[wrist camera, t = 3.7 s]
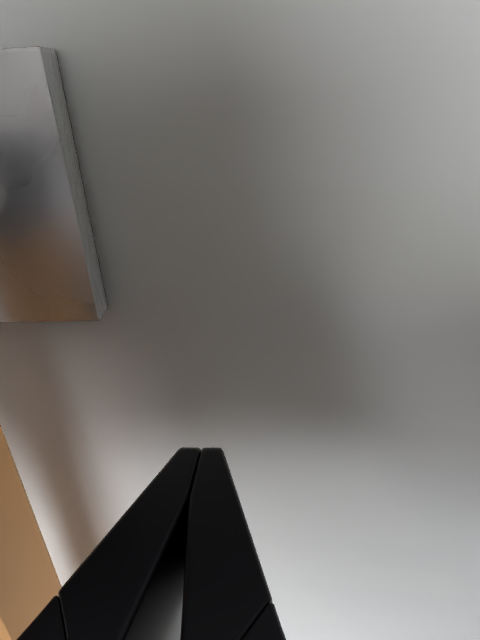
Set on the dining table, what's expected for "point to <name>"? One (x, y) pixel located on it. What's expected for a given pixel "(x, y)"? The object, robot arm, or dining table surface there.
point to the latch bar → (20, 555)
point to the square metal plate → (42, 199)
